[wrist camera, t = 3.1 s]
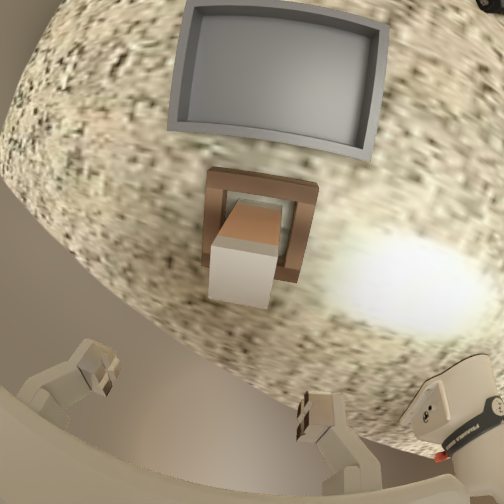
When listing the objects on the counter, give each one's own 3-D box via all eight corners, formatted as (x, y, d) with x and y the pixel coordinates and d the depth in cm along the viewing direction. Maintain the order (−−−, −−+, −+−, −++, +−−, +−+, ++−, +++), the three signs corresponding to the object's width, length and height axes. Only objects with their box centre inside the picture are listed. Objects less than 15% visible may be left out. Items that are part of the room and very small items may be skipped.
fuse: (275, 244, 27) (266, 309, 18) (234, 237, 27) (208, 298, 18) (282, 205, 25) (277, 257, 16) (239, 198, 25) (211, 245, 16)
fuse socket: (296, 272, 28) (296, 283, 26) (206, 256, 28) (201, 265, 26) (316, 183, 23) (319, 188, 22) (213, 166, 24) (207, 170, 22)
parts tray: (359, 156, 22) (370, 161, 18) (182, 128, 22) (166, 130, 19) (376, 36, 16) (389, 25, 13) (199, 12, 17) (186, 0, 14)
